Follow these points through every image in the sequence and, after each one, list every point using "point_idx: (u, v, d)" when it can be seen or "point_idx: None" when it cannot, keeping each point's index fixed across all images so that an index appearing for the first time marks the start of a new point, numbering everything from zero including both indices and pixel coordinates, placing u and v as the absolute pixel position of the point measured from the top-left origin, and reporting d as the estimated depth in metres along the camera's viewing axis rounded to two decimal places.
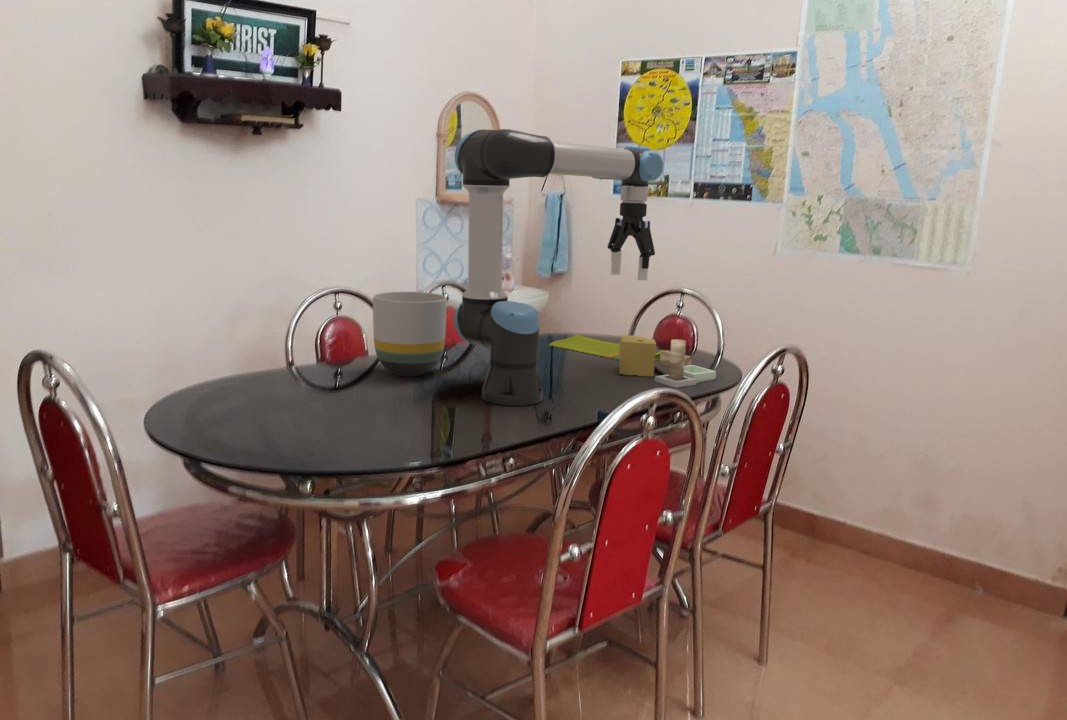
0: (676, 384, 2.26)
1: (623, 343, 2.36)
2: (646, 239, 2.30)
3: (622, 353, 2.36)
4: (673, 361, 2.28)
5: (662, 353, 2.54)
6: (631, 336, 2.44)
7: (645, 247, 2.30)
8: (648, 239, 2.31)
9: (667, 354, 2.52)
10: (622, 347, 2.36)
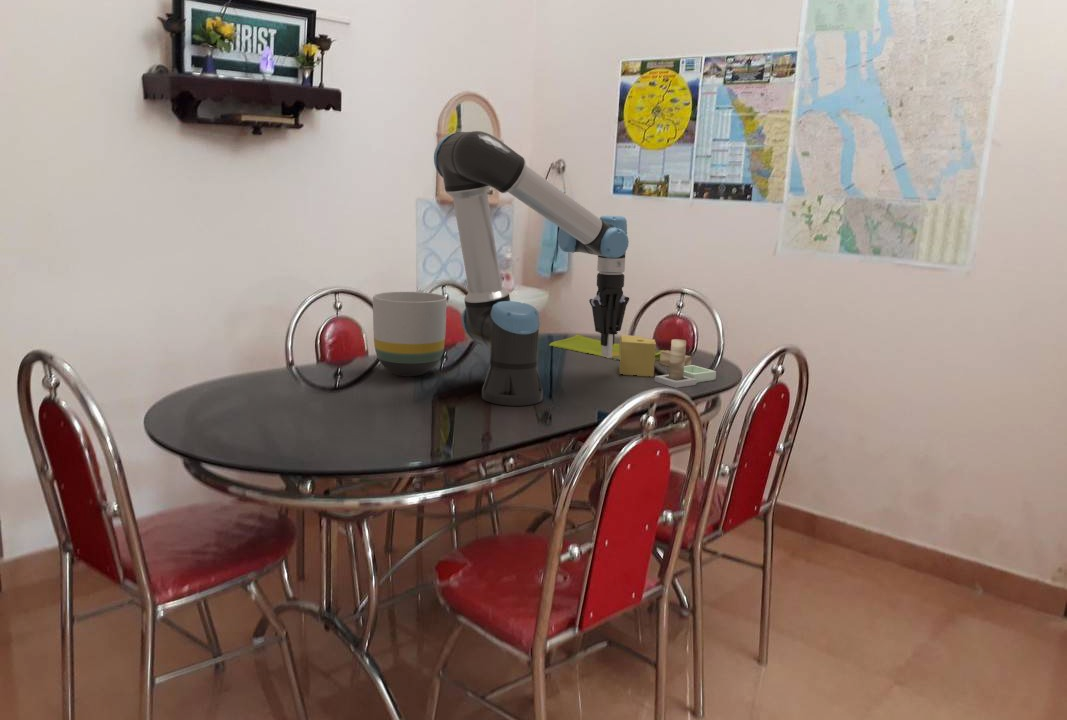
0: (676, 384, 2.26)
1: (623, 343, 2.36)
2: (594, 317, 2.30)
3: (622, 353, 2.36)
4: (673, 361, 2.28)
5: (662, 353, 2.54)
6: (631, 336, 2.44)
7: None
8: (596, 318, 2.30)
9: (667, 354, 2.52)
10: (622, 347, 2.36)
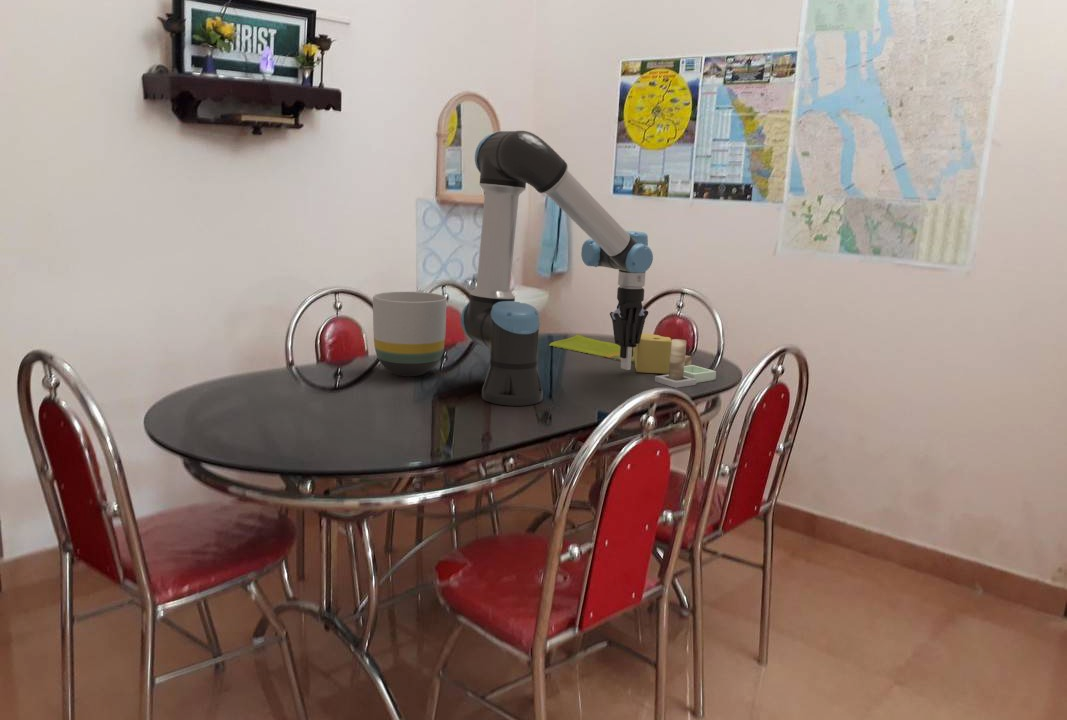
0: (676, 384, 2.26)
1: (640, 341, 2.40)
2: (614, 330, 2.35)
3: (639, 351, 2.40)
4: (674, 360, 2.28)
5: None
6: (646, 334, 2.48)
7: None
8: (616, 330, 2.35)
9: None
10: (639, 345, 2.40)
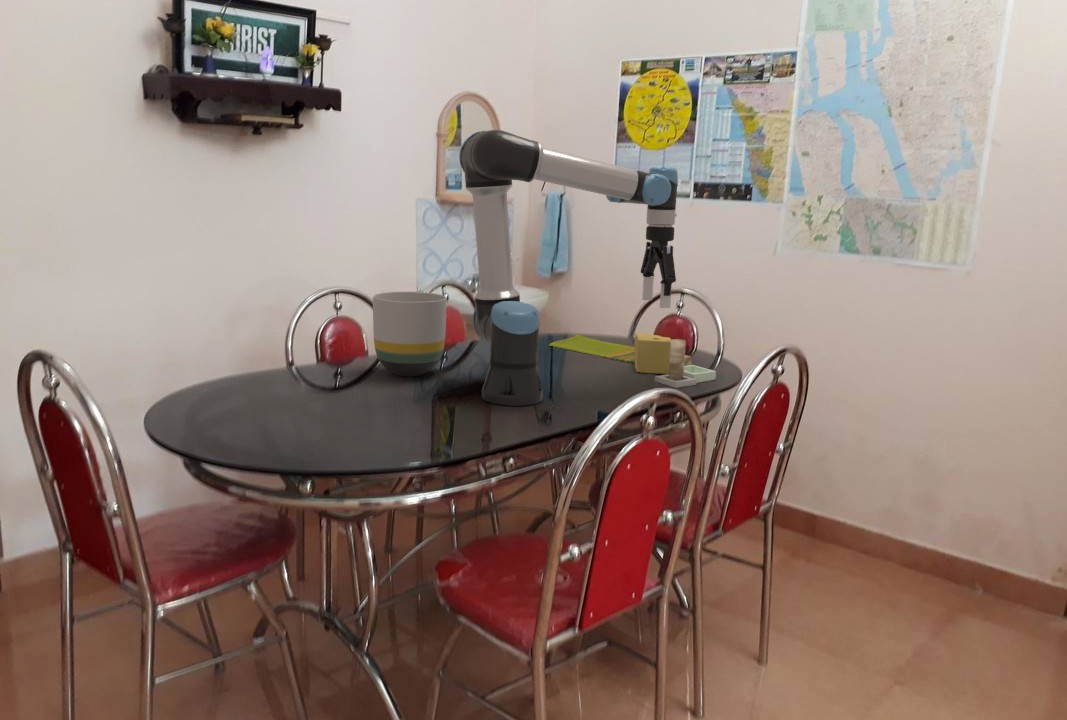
0: (676, 384, 2.26)
1: (640, 341, 2.40)
2: (667, 265, 2.19)
3: (639, 351, 2.40)
4: (673, 361, 2.28)
5: None
6: (646, 334, 2.48)
7: (665, 273, 2.19)
8: (669, 265, 2.19)
9: None
10: (639, 345, 2.40)
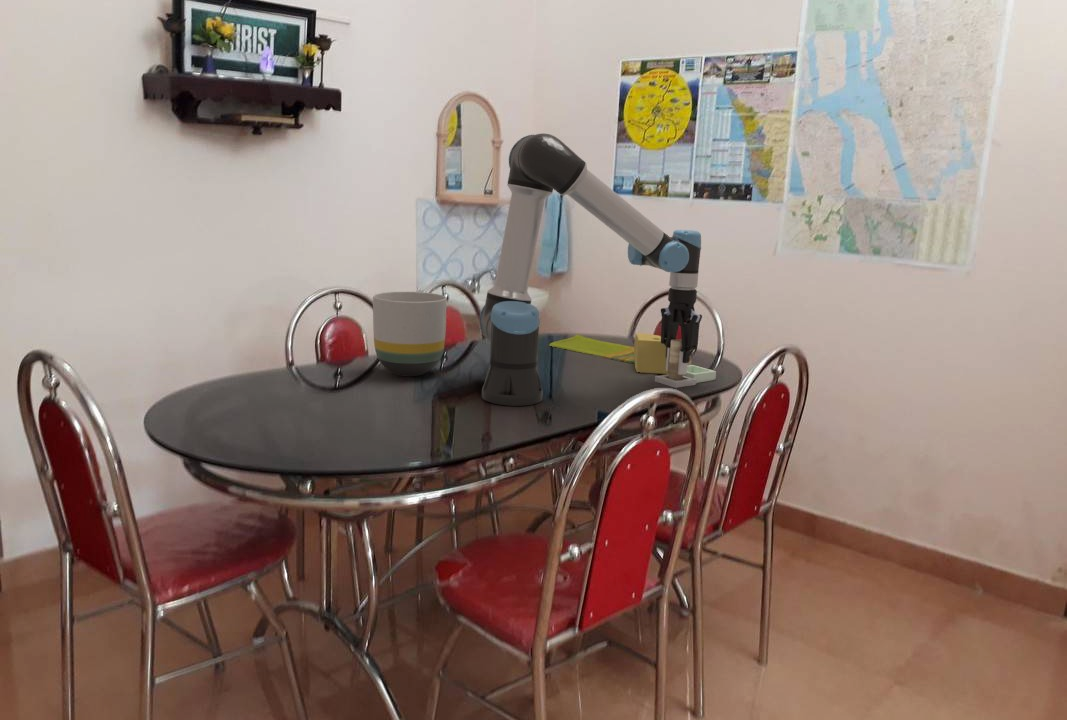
0: (676, 384, 2.26)
1: (640, 341, 2.40)
2: (693, 334, 2.23)
3: (639, 351, 2.40)
4: (672, 360, 2.28)
5: None
6: (646, 334, 2.48)
7: (689, 342, 2.24)
8: (695, 334, 2.24)
9: None
10: (639, 345, 2.40)
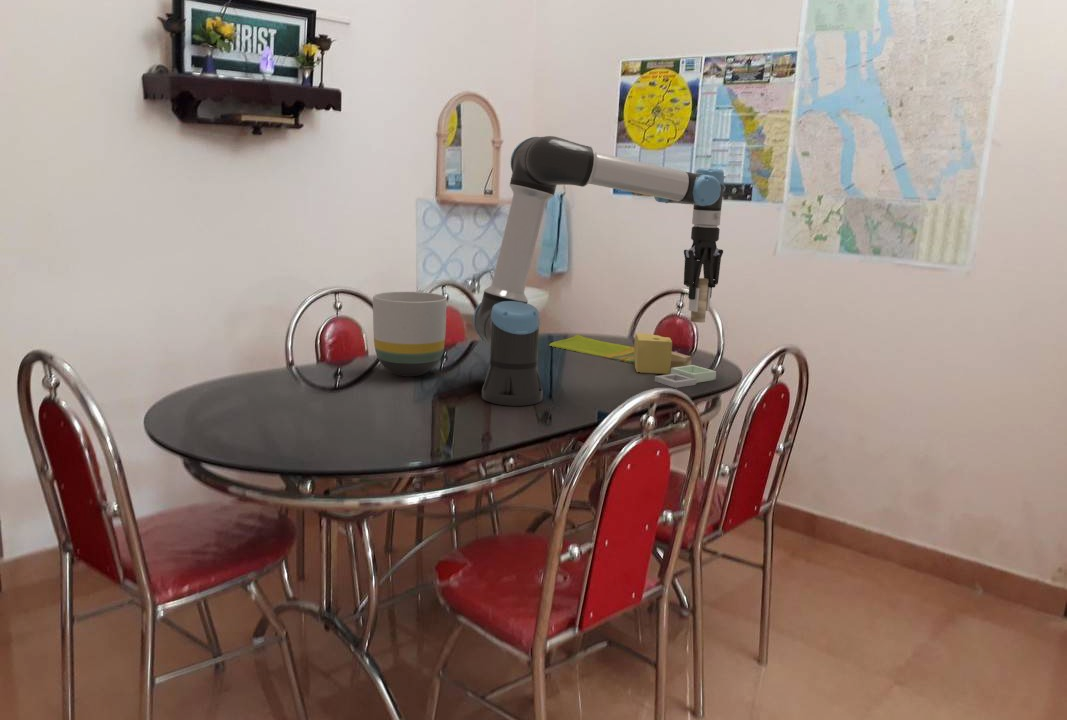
0: (676, 384, 2.26)
1: (640, 341, 2.40)
2: (685, 269, 2.29)
3: (639, 351, 2.40)
4: None
5: None
6: (646, 334, 2.48)
7: None
8: (687, 269, 2.28)
9: None
10: (639, 345, 2.40)
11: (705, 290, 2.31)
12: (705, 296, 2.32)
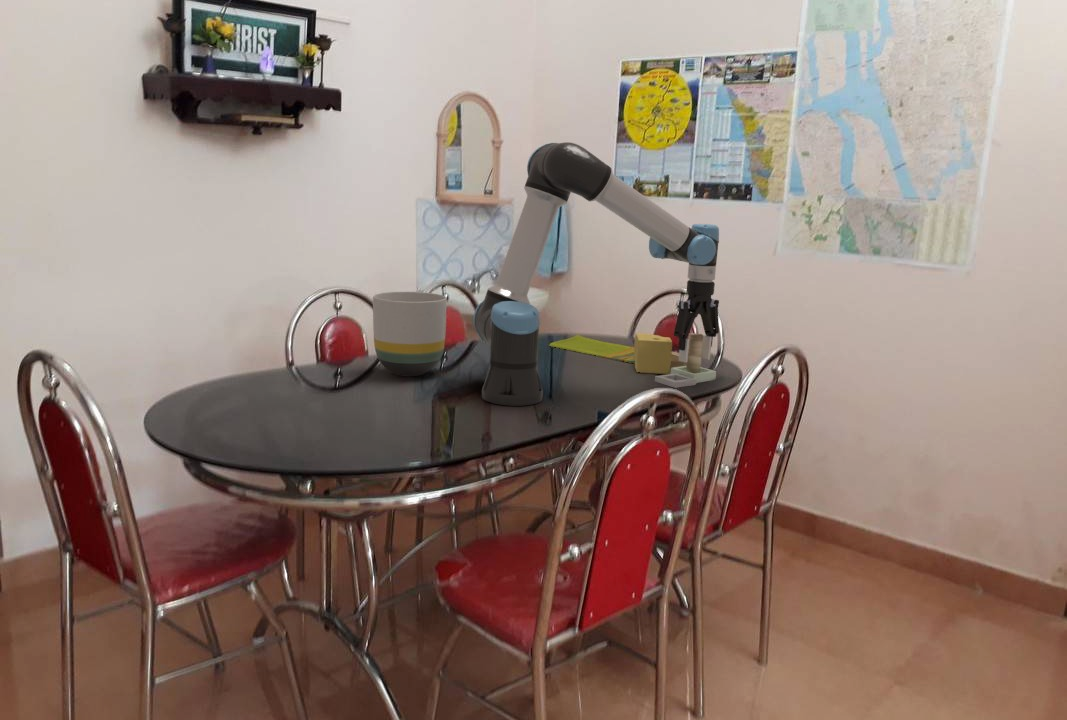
0: (676, 384, 2.26)
1: (640, 341, 2.40)
2: (677, 320, 2.31)
3: (639, 351, 2.40)
4: None
5: None
6: (646, 334, 2.48)
7: None
8: (679, 321, 2.30)
9: None
10: (639, 345, 2.40)
11: (700, 346, 2.35)
12: (700, 352, 2.35)
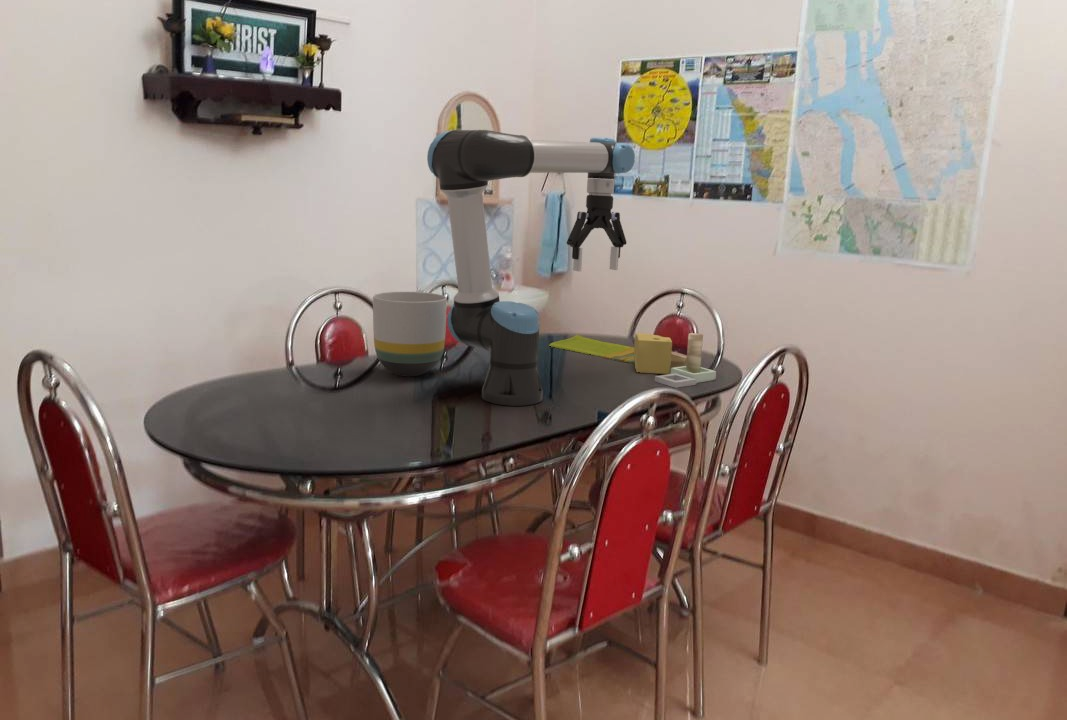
0: (676, 384, 2.26)
1: (640, 341, 2.40)
2: (573, 229, 2.32)
3: (639, 351, 2.40)
4: None
5: None
6: (646, 334, 2.48)
7: None
8: (574, 229, 2.32)
9: None
10: (639, 345, 2.40)
11: (700, 346, 2.35)
12: (700, 352, 2.35)
